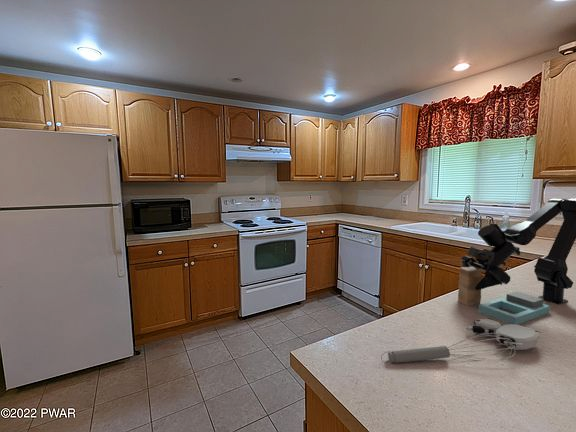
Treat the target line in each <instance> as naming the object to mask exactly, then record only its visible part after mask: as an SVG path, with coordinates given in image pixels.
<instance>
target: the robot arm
mask: <svg viewBox="0 0 576 432" xmlns="http://www.w3.org/2000/svg"><path fill="white" fill-rule="evenodd" d="M561 213H562V214H561ZM559 214H561V215H562V217H563V221H562V223H561V226H560V228H559V230H558V232H557V235H556V236H555V238H554V241H553V243H552V246H551V247H550V250H549V252H548V254H547V255H546V256H545V257H538V258H537V261H536V263H535V265H534V266H533V268H534V274H535V276H536V280H537V281H538V282H541V283H543V286H542V295H539V296H537V297H538V298H541V299H543V301H546V302H549V303H552V304H557V305H562V304H564V303H567V302H568V301H569V300H568V299H565V298H564V297H565V289H566V290H567V289H571V288H572V287H573V285H574V282H573V280H572V279H571V278H570V277H569V276H568V275H567V274H568V271H569V270H568V269H569V268H568V265H567V258H568V256H569V254H570V253H571V249H573V248H572V247H573V245H574V244H575V242H576V198H568V199H566V198H552V199H549V200H548V201H547V202H546V203H545V204H544V205H543V206H542V207H540V209H537V210H536V212H534V213H533V214H531V215H530V216H529V217H528V218H526V220H524V221H521V222H519V223H515V224H513V225H512V226H509V227H507V228H506V229H505V230H502V229H501V228H500V226H499V225H498V224H497V223H494V222H491V223H490V224H487V225H485V226H483V227H481V228H479V230H478V233H477V235H478V236H479V237H480V238H481V239H482V240H483V242H484V243H485V244H486V245H487V246H489V247H491V248H490V250H489V249H488V248H487V249H486V248H483V249H479V248H477V247H474V246H470V247H469V249H468V251H467V254H466V255H463V256H462V257H461V258H460V260H461V264H462V267H474V268H476V269H479V270H481V271H482V272H484V273H485V274H484V277H482V280H481V281H480V282H479V283H478V284H477V286H476V287H475V289H476V290H480V289H481V290H483V289H486V288H489V287H494V286H498V285H501V286H502V285H503V284H504V285H508V284H509V283H510V281H511V276H510V275H509V274H508V273H507V272H506V271H505V270H504V269H503V268H502V267H500V266H504V267H505V266H506V265H507V263H506V261H507V260H508V259H509V258H510V257H511V256H512V255H516V256H520V255H521V251H520V247H518V246H515V245H519V246H527V245H530V243H531V242H532V241H533V240H534V239H535V238H536V236H537V232H538V231H539V229H542V227H544V226H545V225H546V224H548V223H549V222H551V220H553V219H554V218H556V216H558V215H559ZM514 244H515V245H514ZM457 280H458V281H459V277H458V279H457Z"/></svg>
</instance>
